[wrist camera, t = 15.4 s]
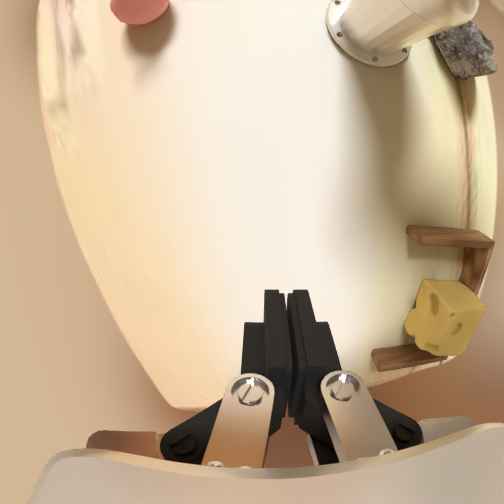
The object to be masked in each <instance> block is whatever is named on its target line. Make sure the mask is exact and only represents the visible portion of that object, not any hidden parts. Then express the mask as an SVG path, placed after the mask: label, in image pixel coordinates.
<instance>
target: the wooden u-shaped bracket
mask: <svg viewBox="0 0 504 504" xmlns="http://www.w3.org/2000/svg"><path fill="white" fill-rule="evenodd" d="M406 233H408V234H409V235H410V236H411V237H412V238H414V239H415V240H416V241H417V242H418V243H419V244H421V245H422V246H447V247H470V249H469V253H468V256H467V260H466V263H465V266H464V269H463V273H462V276H461V279H460V281H459V282H461V283H462V284H464V285H466V286H467V287H468V288H469V289H470V290H471V291H472V292H473V293H474V294H475V295H476V296H477V294H478V291H479V289H480V286H481V284H482V281H483V278H484V275H485V272H486V269H487V266H488V263H489V260H490V257H491V254H492V250H493V247H494V243H495V241H493V240H492V239H490V238H489V237H487V236H486V235H484V234H483V233H481V232H480V231H477V230H466V229H454V228H442V227H428V226H414V225H408V227H407V232H406ZM371 354H372V356H373V359H374V361H375V364H376V366H377V369H378V371H379V372H381V371H388V370H395V369H401V368H407V367H412V366H418V365H423V364H428V363H432V362H437V361H441V360H446V359H447V357H448V356H436V355H433V354H432V353H430V352H428V351H426V350H421V349H420V348H419V347H418V346H417V345H416V344H412V345H405V346H398V347H390V348H381V349H373V351H372V353H371Z"/></svg>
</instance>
